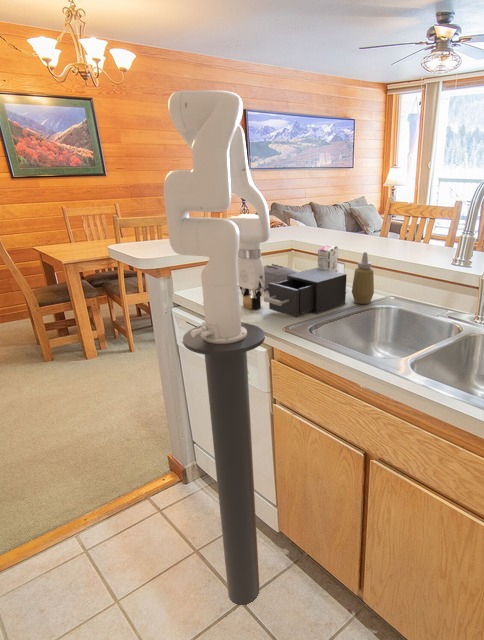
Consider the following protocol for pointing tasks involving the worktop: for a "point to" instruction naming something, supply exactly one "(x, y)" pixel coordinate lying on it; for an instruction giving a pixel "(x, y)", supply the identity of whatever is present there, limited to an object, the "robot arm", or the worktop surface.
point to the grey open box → (324, 287)
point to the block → (248, 301)
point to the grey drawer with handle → (291, 297)
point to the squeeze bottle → (363, 282)
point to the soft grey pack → (276, 274)
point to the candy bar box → (328, 258)
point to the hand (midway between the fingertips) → (252, 306)
